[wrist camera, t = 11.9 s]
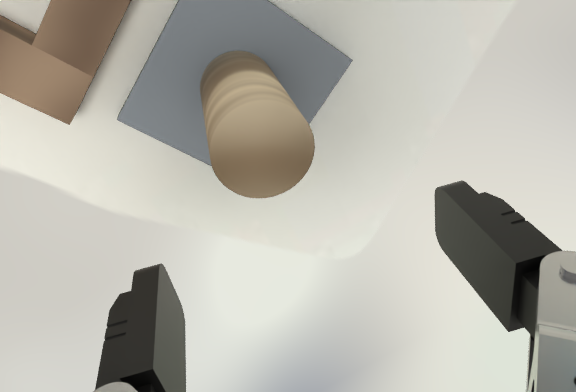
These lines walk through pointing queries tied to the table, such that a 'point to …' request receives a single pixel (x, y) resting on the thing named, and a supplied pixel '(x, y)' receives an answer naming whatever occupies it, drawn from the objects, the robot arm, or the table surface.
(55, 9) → the pocket block
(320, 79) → the mat
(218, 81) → the peg
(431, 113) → the table surface
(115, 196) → the table surface
